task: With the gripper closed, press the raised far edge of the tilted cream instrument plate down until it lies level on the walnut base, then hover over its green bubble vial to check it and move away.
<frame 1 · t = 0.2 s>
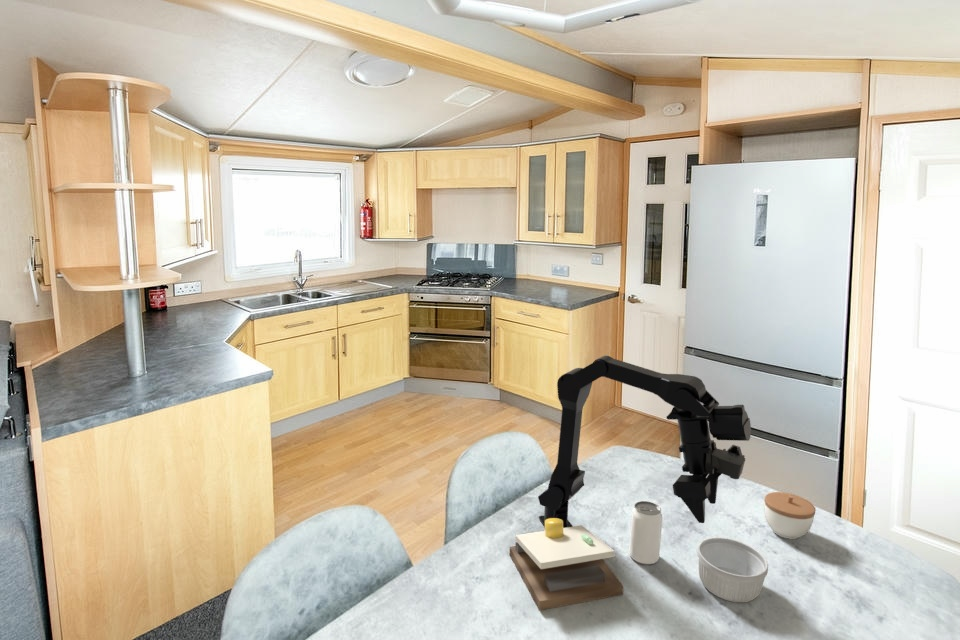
hand: (707, 512, 114), 15 cm above the table, tool pointing down, fingers open, 9 cm apart
walnut base: (563, 573, 118), on the table
instrument plate: (562, 538, 118), point 8 cm above the table, hinge at -12.0°
ramekin: (728, 586, 116), on the table
can: (643, 557, 125), on the table
lidded jar: (785, 532, 135), on the table
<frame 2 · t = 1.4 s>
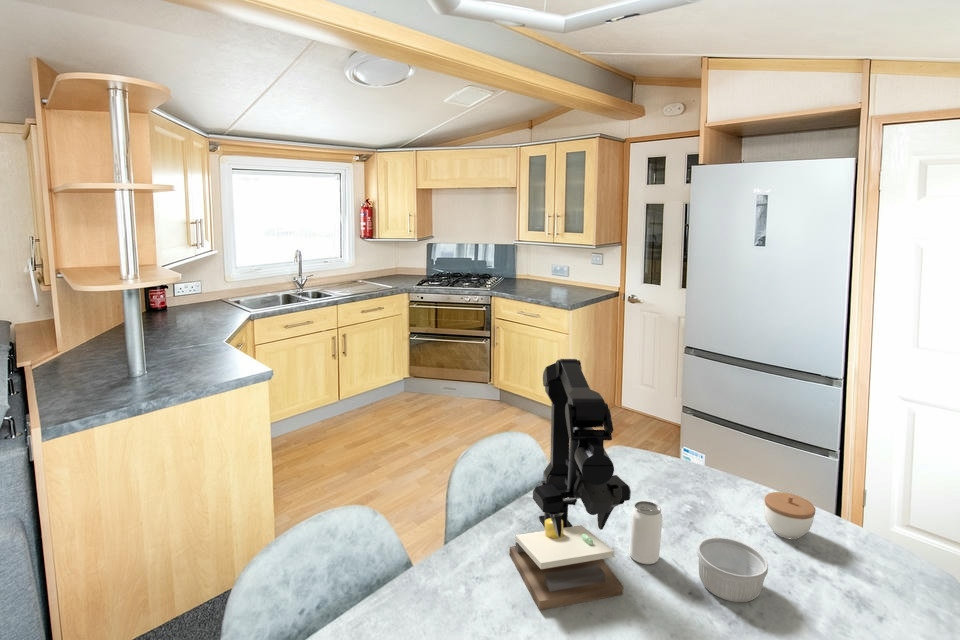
hand: (579, 532, 111), 13 cm above the table, tool pointing down, fingers open, 9 cm apart
nothing on the table moved.
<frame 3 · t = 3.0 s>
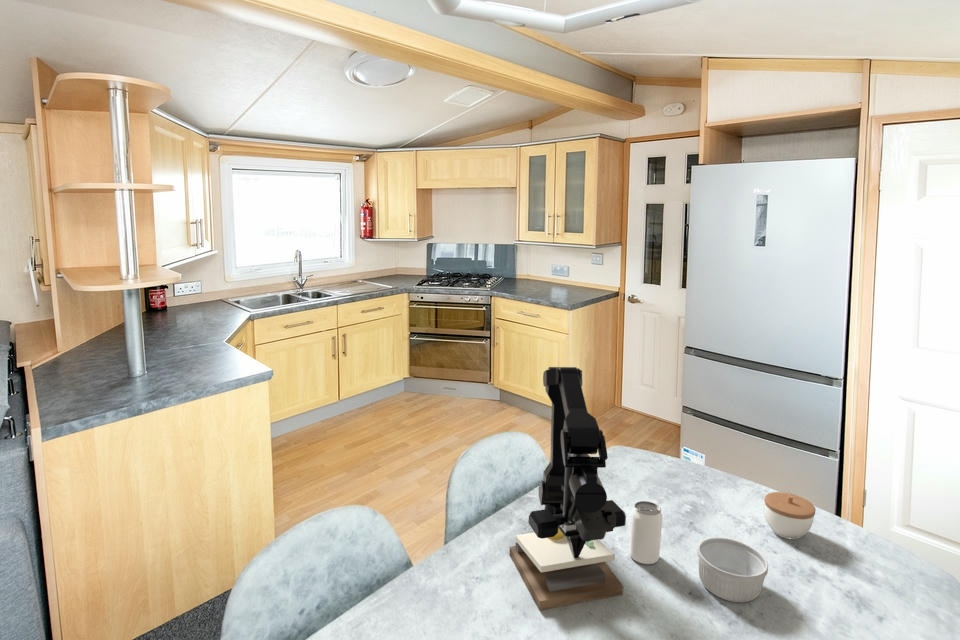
hand: (575, 556, 112), 7 cm above the table, tool pointing down, fingers closed, pressing on instrument plate
instrument plate: (562, 540, 118), point 7 cm above the table, hinge at -9.5°, touching gripper
everything else where it was.
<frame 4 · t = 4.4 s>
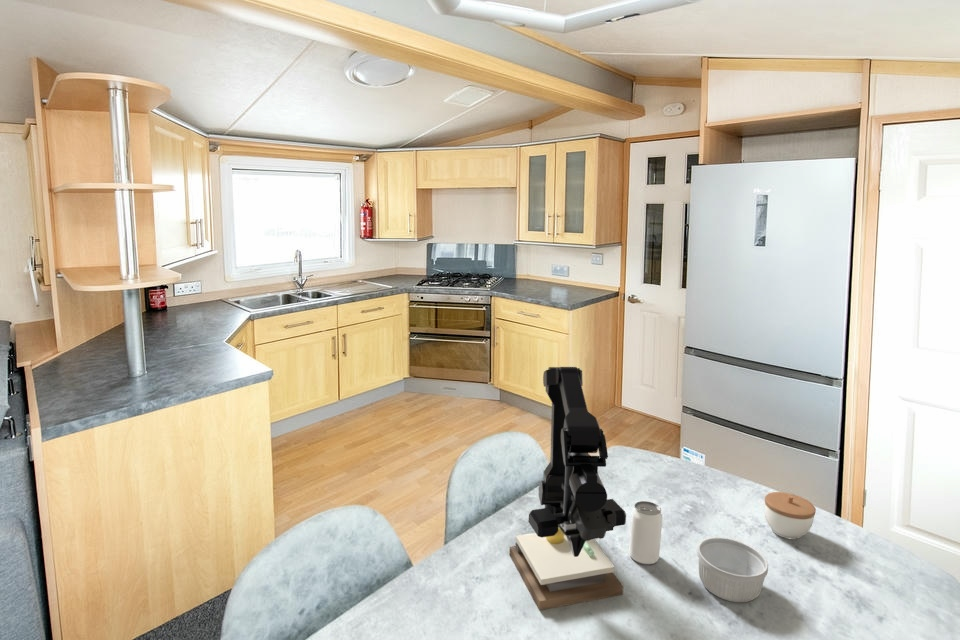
hand: (575, 555, 112), 8 cm above the table, tool pointing down, fingers closed
instrument plate: (563, 546, 118), point 6 cm above the table, hinge at 0.4°
everything else where it was.
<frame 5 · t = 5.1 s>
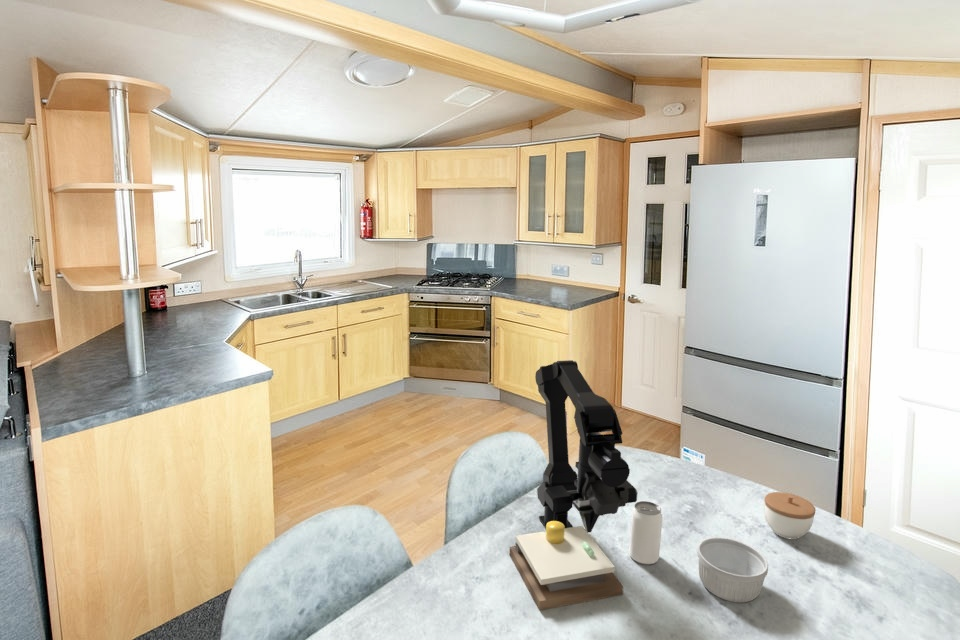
hand: (588, 531, 117), 10 cm above the table, tool pointing down, fingers closed
nothing on the table moved.
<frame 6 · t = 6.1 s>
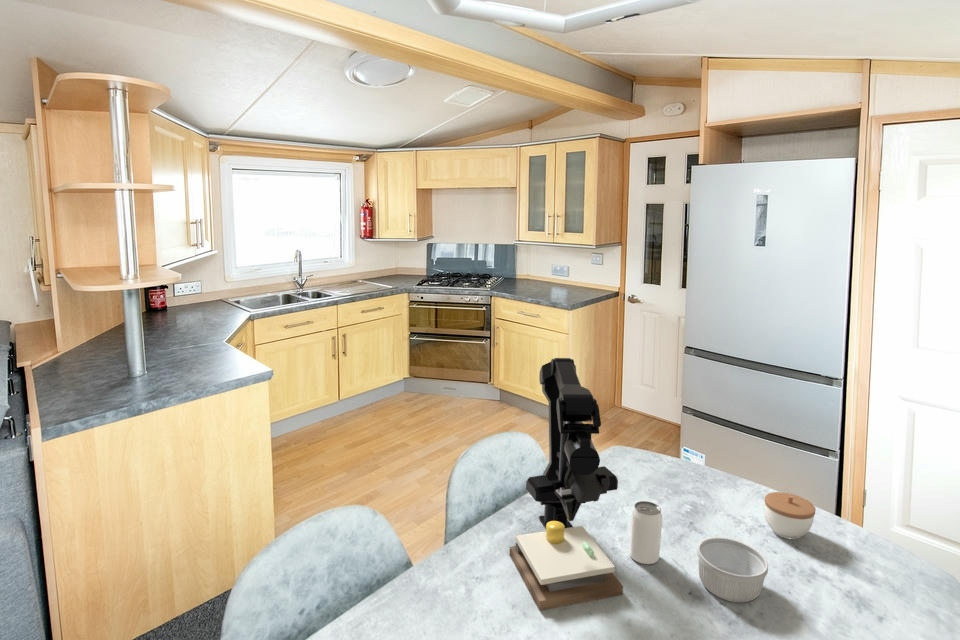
hand: (570, 520, 118), 11 cm above the table, tool pointing down, fingers closed
nothing on the table moved.
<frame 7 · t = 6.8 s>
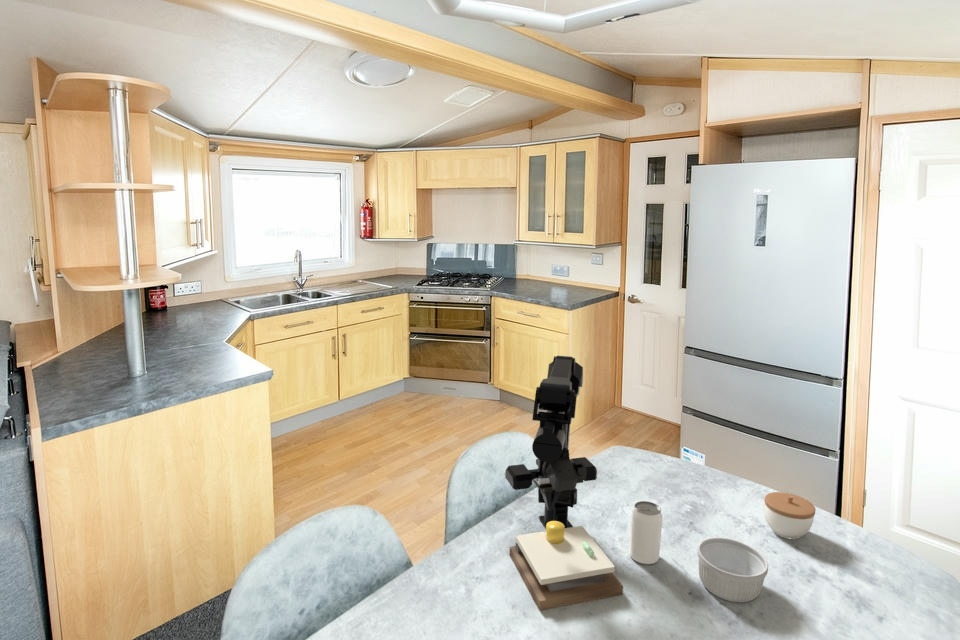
hand: (549, 509, 119), 13 cm above the table, tool pointing down, fingers closed
nothing on the table moved.
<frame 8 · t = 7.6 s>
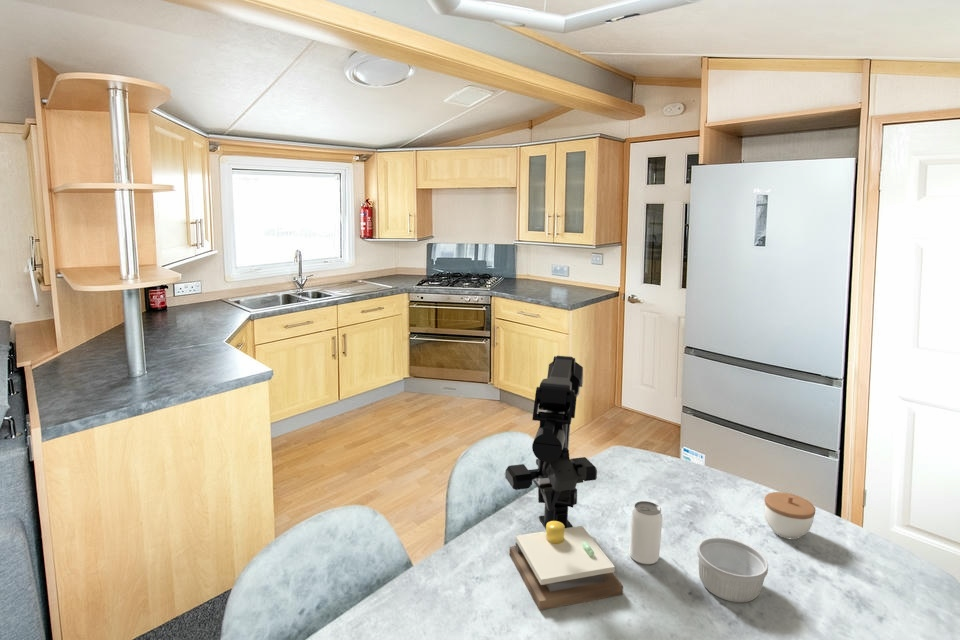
hand: (549, 509, 119), 13 cm above the table, tool pointing down, fingers closed
nothing on the table moved.
at the end: instrument plate at +0° (first picture: -12°); can moved 0.2 cm from its start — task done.
